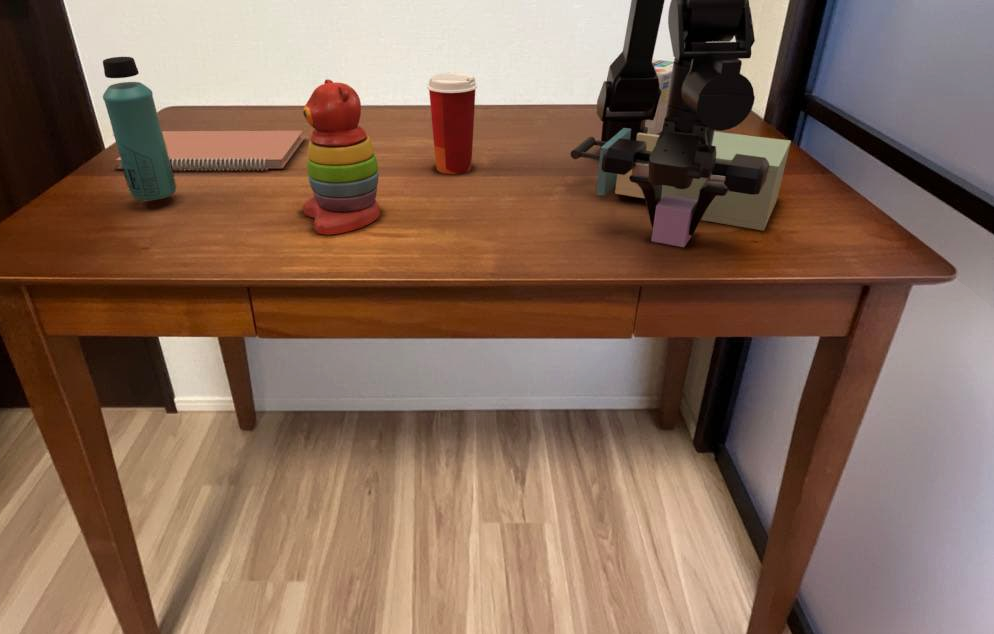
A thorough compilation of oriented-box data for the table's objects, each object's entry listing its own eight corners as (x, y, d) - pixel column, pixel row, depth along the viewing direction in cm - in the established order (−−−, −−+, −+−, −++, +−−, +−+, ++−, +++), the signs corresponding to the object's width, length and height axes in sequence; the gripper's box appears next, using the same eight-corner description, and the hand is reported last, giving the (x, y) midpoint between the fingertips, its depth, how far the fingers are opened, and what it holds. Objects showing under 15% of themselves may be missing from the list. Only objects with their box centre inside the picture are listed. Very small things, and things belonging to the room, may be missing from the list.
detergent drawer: (564, 189, 104) (567, 142, 100) (588, 167, 112) (591, 123, 108) (688, 209, 97) (696, 160, 93) (704, 185, 104) (713, 138, 101)
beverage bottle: (189, 197, 106) (155, 53, 95) (159, 213, 101) (120, 64, 90) (153, 192, 108) (116, 51, 97) (122, 208, 103) (79, 61, 92)
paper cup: (485, 164, 116) (485, 74, 109) (465, 179, 111) (464, 85, 103) (442, 158, 119) (439, 70, 112) (420, 172, 113) (416, 80, 106)
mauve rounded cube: (651, 241, 91) (656, 205, 88) (659, 229, 94) (665, 194, 91) (684, 247, 89) (690, 211, 86) (692, 235, 92) (698, 199, 89)
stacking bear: (300, 209, 101) (281, 78, 92) (368, 197, 105) (357, 70, 95) (318, 237, 93) (300, 97, 83) (392, 224, 96) (382, 87, 87)
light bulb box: (644, 117, 138) (652, 58, 132) (678, 122, 134) (687, 62, 128) (620, 131, 131) (627, 69, 125) (655, 137, 127) (664, 73, 121)
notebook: (115, 172, 116) (111, 160, 115) (155, 140, 130) (153, 129, 129) (281, 172, 115) (279, 159, 113) (304, 140, 129) (302, 129, 128)
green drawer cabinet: (656, 212, 98) (665, 150, 94) (677, 185, 107) (686, 127, 102) (763, 231, 93) (778, 166, 88) (776, 201, 101) (791, 140, 97)
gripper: (592, 113, 80) (581, 241, 89) (767, 134, 73) (737, 271, 81) (622, 91, 88) (609, 210, 97) (782, 107, 81) (753, 235, 89)
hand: (672, 230), depth 91 cm, fingers open, 4 cm apart
